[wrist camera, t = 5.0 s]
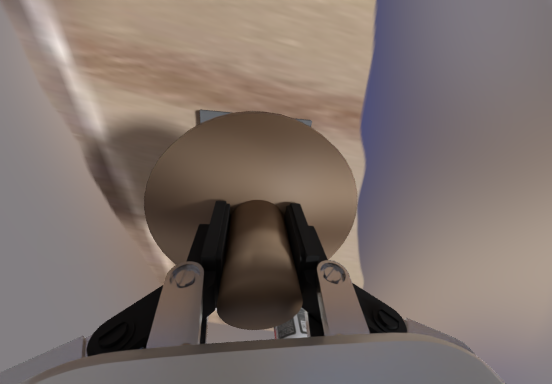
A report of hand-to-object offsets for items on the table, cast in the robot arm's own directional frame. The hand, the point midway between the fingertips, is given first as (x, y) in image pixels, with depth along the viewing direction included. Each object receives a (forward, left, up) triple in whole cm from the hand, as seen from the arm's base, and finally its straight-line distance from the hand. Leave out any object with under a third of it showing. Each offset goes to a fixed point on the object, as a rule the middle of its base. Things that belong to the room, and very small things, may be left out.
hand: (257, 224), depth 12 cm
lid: (0, 0, -1) cm, 1 cm away
